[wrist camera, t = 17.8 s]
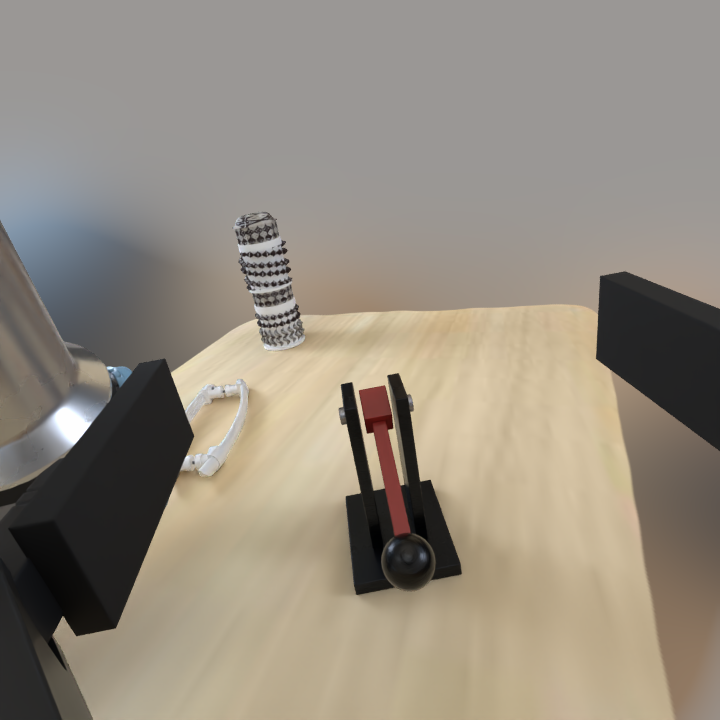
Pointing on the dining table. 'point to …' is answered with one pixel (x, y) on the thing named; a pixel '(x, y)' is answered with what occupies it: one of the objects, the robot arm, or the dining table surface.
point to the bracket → (371, 507)
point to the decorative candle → (269, 281)
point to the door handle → (218, 454)
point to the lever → (396, 503)
